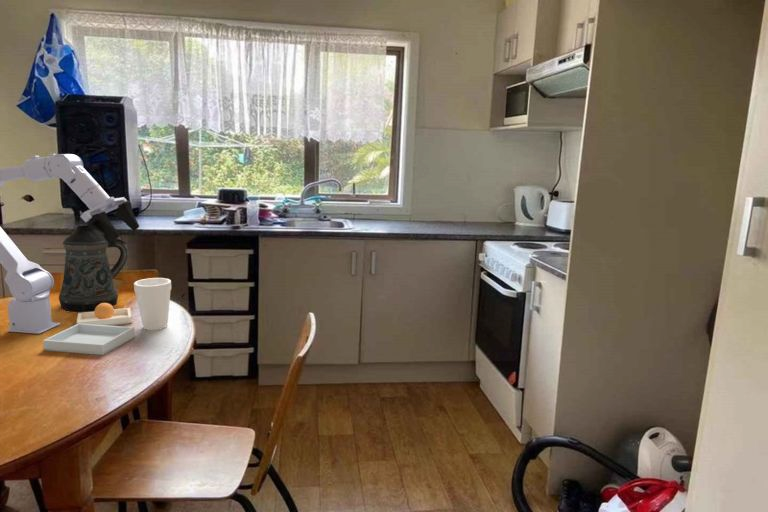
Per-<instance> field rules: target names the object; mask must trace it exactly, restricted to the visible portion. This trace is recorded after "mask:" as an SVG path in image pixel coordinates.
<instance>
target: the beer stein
mask: <svg viewBox="0 0 768 512" xmlns="http://www.w3.org/2000/svg"><path fill="white" fill-rule="evenodd" d="M126 244H127V243H126V242H125V241H124V240H122V239H120V237H118V238H117V239H116V240H113V239H112V238H110V237H109V236H107V235H105V234H104V233H102V232H100V231H98V230H96V229H93V228H90V227H89V226H88V225H87V224H86V225H78V226H77V227H76V230H75V231H73V232H72V233H71V234H70V235H68V236H66V238H65V239H64V240H63V241H62V246H63V248H64V249H65V257H64V258H65V259H64V268H63V269H64V271H63V272H64V273H63V280H62V284H61V289H60V292H59V294H58V301H59V304H60V308H61V310H63V311H64V310H65V311H64V312H66V311H69V313H84V312H94V311H95V308H96V307H97V306H98V305H99V304H101V303H108V304H110V305H112V306H113V307H114V306H116V305H117V304H118V299H119V291H118V289H117V288H116V286H115V283H114V282H113V279H115V278H116V277H117V276H118V275H119V274H120V273H121V271H122V270H123V268H124V267H125V265H126V264H127V262H128V259H129V249H128V247H127V245H126ZM107 248H108V249H109V248H110V249H111V248H117V249H118V250H119V253H120V254H119V258H118V260H117V261H116V262H115V264H114V265H113V267H112V268H110V260H109V258H108V254H107Z"/></svg>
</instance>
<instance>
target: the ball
mask: <svg viewBox="0 0 768 512" xmlns="http://www.w3.org/2000/svg"><path fill="white" fill-rule="evenodd" d="M93 312H94V313H95V316H96V317H97V318H98V319H107V318H111V317H112V316H113V314H114V306H112V305H110V304H108V303H101V304H99V305H98V306H97V307H96V308H95V311H93Z"/></svg>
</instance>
